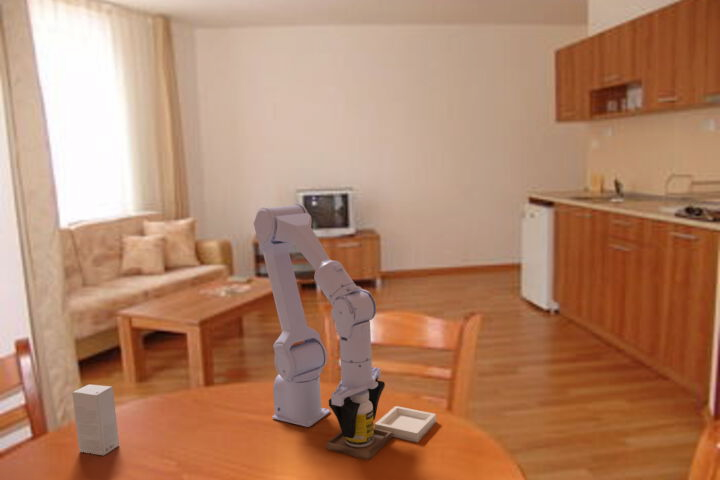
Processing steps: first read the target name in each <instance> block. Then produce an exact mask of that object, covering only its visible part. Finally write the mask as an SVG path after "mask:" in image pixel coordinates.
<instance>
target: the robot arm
mask: <svg viewBox="0 0 720 480" xmlns="http://www.w3.org/2000/svg"><path fill="white" fill-rule="evenodd" d="M312 220H313V219H312V216H311V215H310V213H309V212H308V210H307V208H306V207H305V205H304V204H301V203H295V204H290V205H279V206H272V207H270V206H269V207H267V206H264V207H261V208H259V210H257V213H256V215H255V218H254V221H253V227H254V230H255V235H256V239H257V243H258V247H259V250H260V251H262V254H263V258H264V263H265V267H266V271H267V276H268V279H269V282H270V283H269V284H270V287H271V292H272V294H273V295H272V296H273V299H274V300H273V301H274V303H275V308H276V312H277V317H278V320H279V324H280V328H281V333H280V335H279V336H278V337H277V339H276V340H275V342H274V343H273V345H272V346H273V350H274V367H275V370H276V372H277V375H276V377H275V379H274V382H273V387H272V391H273V393H272V394H273V395H272V396H273V407H274V415H272V416H271V417H272V419H273V420H278V421H282V422H286V423H290V424H294V425H298V426H302V427H304V428H310V427H311V426H313V425H314V424H316V423H317V422H319V421H320V420H322V419H323V418H324V417H325V416H327V415H328V414H329V413H331V410H332V412H333V414H334V415H335V418H336V420H337V421H338V424H339V429H340V432H341V431H342V434H343V436H344V437H348V438H354V436H355V428H356V416H357V412H358V409H359V406H360V403H355V402H352V400H351V399H350V397H351V396H352V395H354V394H356V393H358V392H361V391H364V390H366V389H367V390H368V391H369V399H368V400H369V401H370V402H371V403H372V405H373V422H375V419H376V415H377V409H378V406H379V401H380V398H381V395H382V393H383V391H384V388H385V387H386V386H385V385H386V384H385V381H382V380H380V379H381V378H382V376H381V375H382V374H381V373H382V372H381V368H380V367H373V361H372V359H373V358H372V357H373V356H372V338H371V335H372V333H371V331H372V330H371V321H372V320H373V319H374V318H375V317H376V313H377V303H376V300H375V298H374V296H373V295H372V293H371V292H370V291H369V290H366V289H363V288H362V287H361V286H359V285H356V283H355V282H354V281H353V279H352V278H351V276H350V275H349V273H348V271H346V269H345V267H344V266H343V264H342V263H341V262H340V261H339V260H332V259H330V256H329V255H328V253H327V252H326V250H325V249H324V247H323V245H322V243H321V242H320V240H319V239H318V236H317V234H316V233H315V232H314V230H313V228H312ZM293 246H295V247H296V248H297V250H298V251H299V252H300V253H301V254H302V255H303V257H304V258H305V259H306V260H307V262H308V263H309V264H310V265H311V267H312V268H313V269H314V279H313V280H314V281H315V283H316V284H317V285H318V287H319V288H320V290H321V292H323V294H324V296H325V298H326V299H327V300H328V301H329V303H330V304H331V306H332V308H331V309H330V315H331V318H332V320H333V322H334V324H335V328H336V329H335V331H336V333H337V336H339V337H338V338H339V354H340V359H339V360H340V374H341V375H340V376H341V377H340V379H341V380H340V381H339V383H338V385H337V387H336V389H335V390H334V392H332V393H331V394H330V397H331V398H329V399H328V407H329V408H330V409H329V408H324V407H322V396H321V379H320V378H321V376H320V374H322V373H323V368H324V367H326V364H327V362H328V352H327V348H326V347H325V345H324V344H323V342H322V339H321V336H320V333H319V332H318V331H317V330H316V329H314V328H313V327H310V326H308V322H307V319H306V318H307V317H306V315H305V311H304V307H303V303H302V299H301V294H300V291H299V287H298V282H297V279H296V275H295V271H294V267H293V262H292V258H291V253H290V252H291V250H292V248H293ZM296 343H297V344H296Z"/></svg>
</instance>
